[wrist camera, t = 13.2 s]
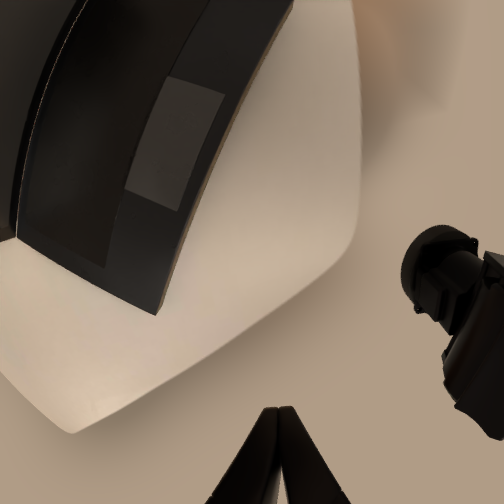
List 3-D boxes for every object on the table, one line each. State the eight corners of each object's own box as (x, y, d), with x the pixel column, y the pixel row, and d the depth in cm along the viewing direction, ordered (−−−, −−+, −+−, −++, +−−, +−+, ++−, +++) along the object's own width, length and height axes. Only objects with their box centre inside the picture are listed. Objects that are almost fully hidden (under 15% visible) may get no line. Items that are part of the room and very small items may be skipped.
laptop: (292, 7, 14) (294, -3, 12) (161, 306, 22) (154, 317, 20) (115, -24, 12) (107, -31, 11) (26, 232, 20) (15, 238, 19)
